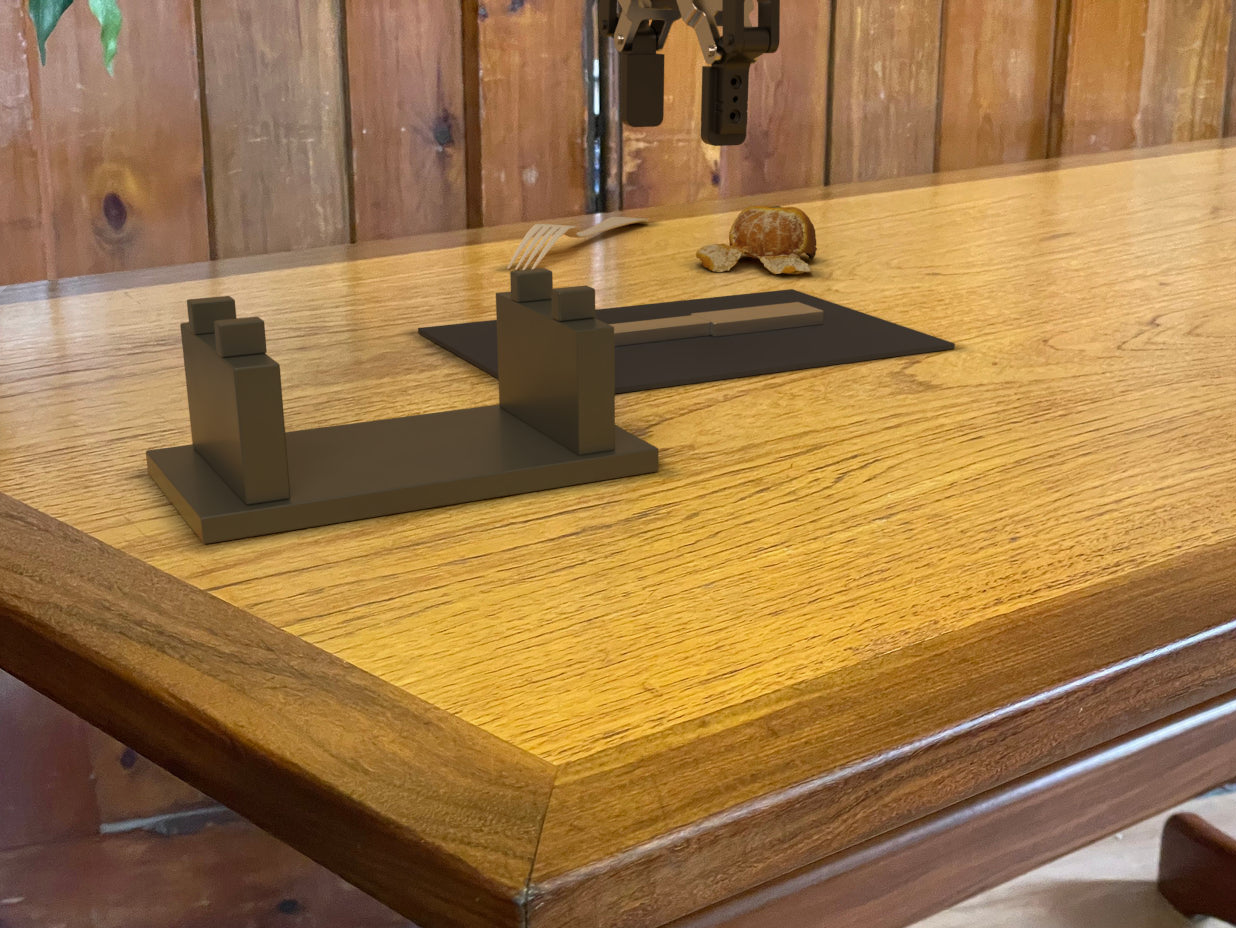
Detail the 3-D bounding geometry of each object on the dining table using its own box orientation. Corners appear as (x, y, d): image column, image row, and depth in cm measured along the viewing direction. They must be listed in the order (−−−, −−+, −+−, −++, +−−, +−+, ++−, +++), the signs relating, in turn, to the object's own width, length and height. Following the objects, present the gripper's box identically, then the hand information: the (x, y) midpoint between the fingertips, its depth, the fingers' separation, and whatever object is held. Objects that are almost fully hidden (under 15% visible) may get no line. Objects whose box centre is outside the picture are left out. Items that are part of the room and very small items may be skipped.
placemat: (540, 403, 74) (540, 397, 74) (418, 333, 87) (417, 327, 87) (954, 348, 85) (955, 343, 85) (792, 293, 98) (792, 289, 98)
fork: (653, 254, 123) (654, 217, 122) (539, 271, 103) (540, 227, 103) (619, 251, 124) (620, 215, 123) (499, 268, 104) (500, 225, 104)
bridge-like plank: (523, 359, 80) (523, 344, 80) (503, 348, 82) (502, 333, 82) (823, 324, 89) (823, 310, 89) (797, 315, 91) (798, 301, 91)
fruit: (686, 268, 105) (686, 212, 104) (731, 248, 112) (732, 195, 111) (806, 279, 102) (808, 221, 101) (844, 258, 110) (847, 204, 108)
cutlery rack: (203, 545, 56) (182, 342, 53) (147, 474, 63) (127, 293, 61) (659, 471, 65) (659, 294, 62) (564, 417, 72) (560, 256, 69)
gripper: (553, -209, 81) (555, 123, 86) (693, -230, 69) (685, 154, 75) (683, -198, 84) (677, 120, 90) (836, -217, 73) (819, 149, 78)
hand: (681, 135), depth 82 cm, fingers open, 8 cm apart
